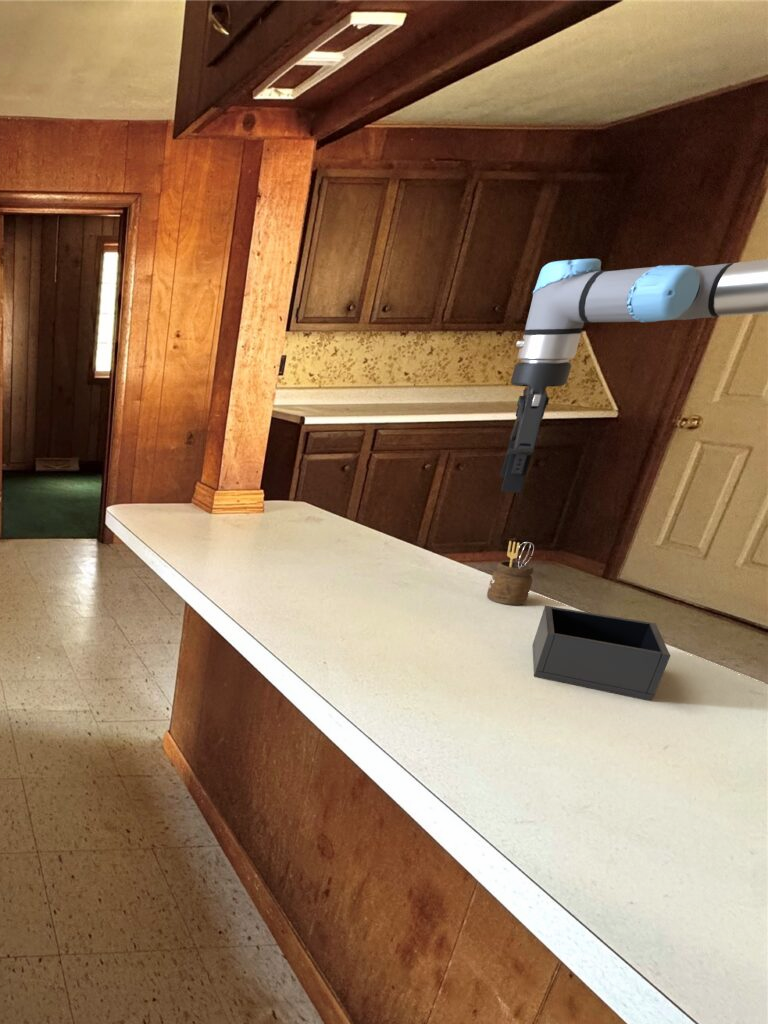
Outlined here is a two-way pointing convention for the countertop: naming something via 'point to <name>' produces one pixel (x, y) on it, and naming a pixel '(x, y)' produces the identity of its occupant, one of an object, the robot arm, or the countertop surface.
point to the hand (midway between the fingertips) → (509, 484)
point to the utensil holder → (511, 579)
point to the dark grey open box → (600, 652)
